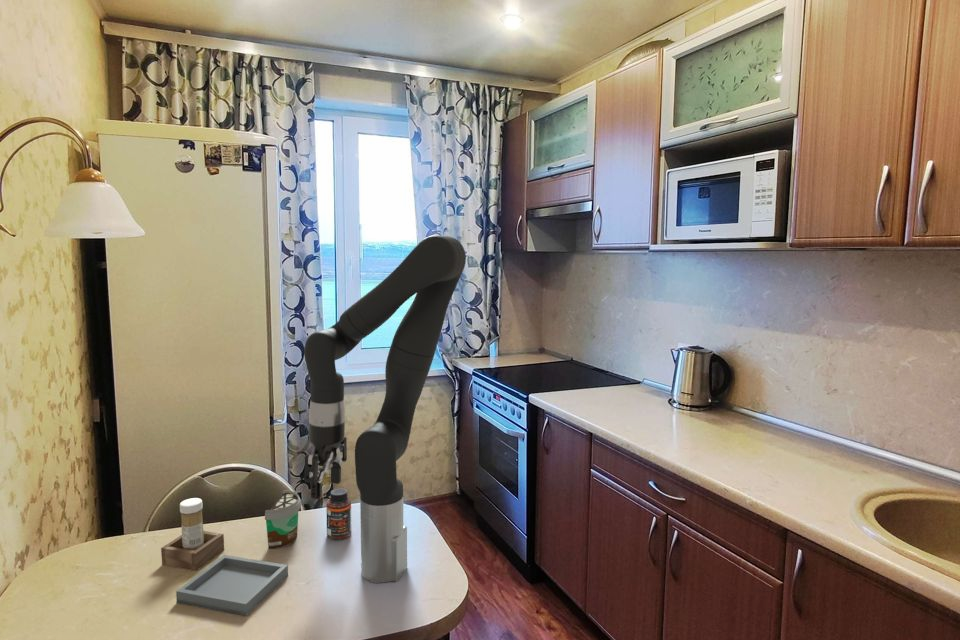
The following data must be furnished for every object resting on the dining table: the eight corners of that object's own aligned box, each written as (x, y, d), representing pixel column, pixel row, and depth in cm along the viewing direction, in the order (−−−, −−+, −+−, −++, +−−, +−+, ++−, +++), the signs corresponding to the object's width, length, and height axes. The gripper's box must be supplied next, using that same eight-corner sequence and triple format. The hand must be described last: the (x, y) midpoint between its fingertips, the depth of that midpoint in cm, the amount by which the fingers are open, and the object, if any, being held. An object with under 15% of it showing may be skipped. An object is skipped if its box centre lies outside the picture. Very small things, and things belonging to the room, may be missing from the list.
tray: (288, 576, 121) (287, 565, 121) (246, 616, 108) (245, 604, 107) (224, 565, 125) (224, 554, 125) (176, 602, 112) (176, 591, 111)
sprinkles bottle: (206, 550, 131) (203, 495, 130) (203, 560, 127) (200, 504, 125) (184, 554, 130) (181, 498, 128) (181, 564, 125) (178, 507, 124)
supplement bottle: (328, 543, 135) (327, 498, 134) (325, 531, 141) (324, 488, 139) (353, 538, 138) (352, 494, 136) (349, 527, 143) (348, 485, 142)
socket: (224, 550, 132) (223, 533, 131) (196, 570, 123) (195, 553, 122) (191, 544, 134) (191, 528, 133) (162, 564, 125) (161, 548, 125)
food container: (292, 552, 131) (290, 511, 130) (265, 552, 131) (264, 511, 130) (309, 527, 143) (308, 489, 142) (285, 526, 143) (283, 489, 142)
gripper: (326, 431, 115) (325, 506, 117) (357, 412, 128) (356, 480, 130) (293, 427, 116) (293, 501, 118) (328, 409, 130) (327, 475, 132)
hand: (326, 490), depth 124 cm, fingers open, 8 cm apart
